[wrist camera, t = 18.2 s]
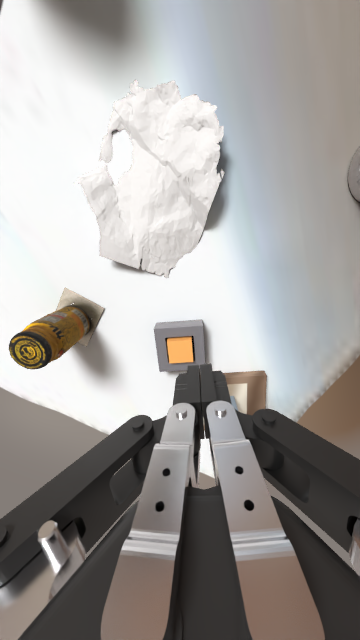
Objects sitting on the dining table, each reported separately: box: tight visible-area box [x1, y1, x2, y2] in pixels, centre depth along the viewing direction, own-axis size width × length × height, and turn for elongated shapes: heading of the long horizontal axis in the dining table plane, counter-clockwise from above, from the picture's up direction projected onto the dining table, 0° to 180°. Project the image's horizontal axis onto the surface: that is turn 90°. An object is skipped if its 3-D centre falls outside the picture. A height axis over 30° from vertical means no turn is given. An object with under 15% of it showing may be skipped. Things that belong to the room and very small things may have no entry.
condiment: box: [9, 288, 104, 369], centre depth 33 cm, size 7×8×12 cm
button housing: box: [154, 320, 205, 372], centre depth 38 cm, size 8×8×3 cm
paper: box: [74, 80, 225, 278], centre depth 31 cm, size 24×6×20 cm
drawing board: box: [200, 371, 267, 430], centre depth 43 cm, size 16×12×2 cm
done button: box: [167, 336, 193, 363], centre depth 38 cm, size 4×4×3 cm
